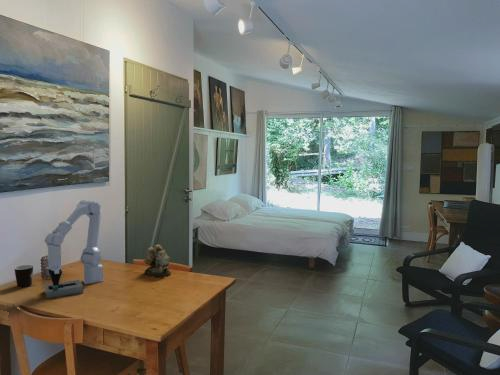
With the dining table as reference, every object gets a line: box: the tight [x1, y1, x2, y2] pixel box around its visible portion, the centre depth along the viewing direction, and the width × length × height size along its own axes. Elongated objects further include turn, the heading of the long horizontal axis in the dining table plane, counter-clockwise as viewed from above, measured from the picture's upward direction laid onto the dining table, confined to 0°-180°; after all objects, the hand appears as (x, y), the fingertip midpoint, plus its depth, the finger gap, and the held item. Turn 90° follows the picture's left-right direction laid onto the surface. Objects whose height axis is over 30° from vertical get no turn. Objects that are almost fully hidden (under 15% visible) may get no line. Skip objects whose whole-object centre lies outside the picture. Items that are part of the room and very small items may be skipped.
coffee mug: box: [14, 264, 34, 289], centre depth 204 cm, size 12×9×10 cm
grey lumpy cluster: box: [143, 244, 172, 278], centre depth 226 cm, size 18×12×17 cm, turn 65°
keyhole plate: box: [44, 279, 84, 300], centre depth 194 cm, size 16×12×3 cm
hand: (55, 284), depth 192 cm, fingers closed on peg, 2 cm apart
